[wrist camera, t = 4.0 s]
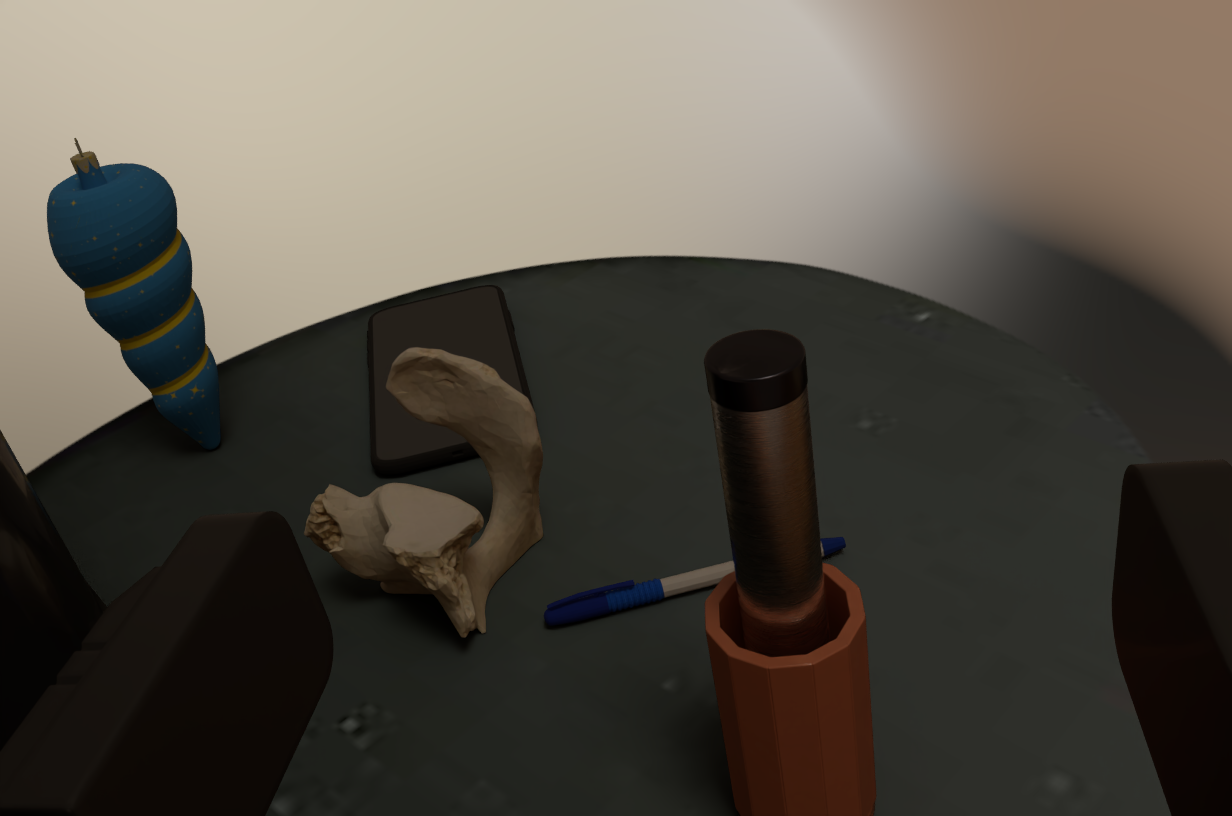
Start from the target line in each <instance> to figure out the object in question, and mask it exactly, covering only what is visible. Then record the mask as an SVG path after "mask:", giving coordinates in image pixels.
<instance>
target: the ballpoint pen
mask: <svg viewBox="0 0 1232 816" xmlns="http://www.w3.org/2000/svg"><path fill="white" fill-rule="evenodd" d="M820 541H821V553H822V557H825V556H827V555H829V554H832V553H834V552H836V551H838V550H841V549H843V548H845V547H846V544H845V540H844V538H843V537H836V538H824V539H820ZM733 571H735V569H734V562H733V561H730V562H726V563H722V564H718V565H714V566H710V567H706V568H702V569H698V570H695V571H691V572H687V573H683V574H679V575H675V576H671V577H667V578H663V579H653V581H651V580H649V581H648V582H646V583H645V582H642V584H639V583H637V584H636V585H634V582H633V580H630V581H626V582H622V583H617V584H613V585H609V586H605V587H601V588H596V589H592V590H589V591H585V592H581V593H578V594H575V595H572V596H569V597H567V598H564V599H561V600H558V601H556V602H554V603H551V604H549V605H547V608H548V609H547V610H546V611H545V613H544V619H545V622H546V623H547V624H548V625H549V626H555V625H562V624H568V623H574V622H578V621H582V620H586V619H590V618H594V617H598V616H602V615H606V614H610V612H616V610H619V611H621V610H622V609H627V608H628V607H630V608H633V606H636V607H637V606H639V605H640V604H641V605H644V603H647V604H649V603H650V602H652V601H653V602H656V600H659V601H660V600H662V599H663V598H666V597H669V596H673V595H677V594H681V593H685V592H689V591H693V590H697V589H701V588H705V587H709V586H712V585H716V584H718V583H719V582H720V581H721V579H722V578H723V577H725V575H727V574H729V573H731V572H733ZM617 589H618V590H617ZM611 590H614V591H611ZM606 591H608V592H606ZM605 592H606V593H605ZM590 595H591V596H590ZM586 596H587V597H586ZM582 597H584V598H582ZM579 598H580V599H579Z"/></svg>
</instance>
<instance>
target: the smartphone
mask: <svg viewBox="0 0 1232 816" xmlns="http://www.w3.org/2000/svg"><path fill="white" fill-rule="evenodd" d="M367 338H368V340H367V351H368V353H367V356H368V368H369V391H370V438H371V462H372V465H373V467H374V469H375V470H376V471H377V472H379V473H381V474H385V475H394V474H402V473H406V472H410V471H414V470H418V469H422V468H426V467H430V466H434V465H438V464H442V463H446V462H451V461H455V460H459V459H463V458H467V457H471V456H475V455H479V454H478V453H477V452H476V450H475V449H474V448H473V447H472V445H471V444H470V443H469V442H468V441H467V440H466V439H465V438H464V437H462V436H461V435H459V434H457V433H456V432H454V431H452V430H450V429H449V428H447V427H443V426H438V425H434V424H431V423H428V422H424V421H421V420H418V419H416V418H415V417H413V416H412V415H410V414H409V413H407V412H406V411H405V410H404V409H403V407H402V406H401V405H400V404H399V403H398V402H397V400H396V398H395V397H394V396H393V395H392V394H391V393H390V392H389V391H388V390H387V389H386V383H387V380H388V376H389V373H390V371H391V367H392V364H393V362H394V361H395V359H396V358H397V357H398V356H399V355H400V354H401V353H403V352H404V351H405V350H407V349H408V348H414V347H419V348H426V349H441V350H443V351H446V352H448V353H450V354H453V355H457V356H461V357H466V358H469V359H473V360H476V361H478V362H481V363H484V364H486V365H487V366H489V367H491V368H493V369H494V370H495V371H496V372H497V373H498V375H499V376H500V378H501V379H502V380H503V381H504V382H506V383H507V384H508V385H510V386H511V387H512V388H514V389H515V390H517V391H518V392H520V393H521V394H523V395H524V396H526V397H527V398H528V399H529V401H530V403H531V405H532V408H533V410H534V407H533V403H532V400H531V396H530V392H529V388H528V384H527V380H526V376H525V373H524V369H523V365H522V361H521V357H520V353H519V350H518V346H517V342H516V338H515V334H514V325H513V322H512V318H511V314H510V312H509V310H508V308H507V304H506V300H505V296H504V293H503V291H502V289H501V288H499V287H498V286H495V285H485V286H478V287H474V288H470V289H465V290H461V291H457V292H453V293H448V294H444V295H440V296H436V297H431V298H427V299H423V300H419V301H414V302H410V303H406V304H402V305H397V306H393V307H389V308H386V309H383V310H380V311H378V312H376V313H374V314H373V315H372V316H371V317H370V319H369V322H368V331H367ZM534 412H535V411H534ZM536 422H537V419H536Z"/></svg>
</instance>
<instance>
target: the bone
mask: <svg viewBox="0 0 1232 816" xmlns="http://www.w3.org/2000/svg"><path fill="white" fill-rule="evenodd" d="M386 389H387V390H388V391H389V392H390V393H391V394H392V395H393V396H394V397H395V398H396V400H397V402H398V403H399V404H400V405H401V406H402V407H403V409H404V410H405V411H406V412H407V413H409V414H410V415H412V416H413V417H415V418H416V419H418V420H421V421H424V422H428V423H431V424H434V425H438V426H443V427H447V428H449V429H450V430H452V431H454V432H456V433H457V434H459V435H461V436H462V437H464V438H465V439H466V440H467V441H468V442H469V443H470V444H471V445H472V447H473V448H474V449H475V450H476V452H477V453H478V454H479V456H480V457H481V459H482V460H483V462H484V463H485V466H486V468H487V470H488V473H489V476H490V479H491V483H492V487H493V504H492V510H491V514H490V518H489V521H488V524H487V526H486V528H485V530H484V533H483V534H482V536H481V537H480V539H479V540H478V541H477V542H476V543H475V544H474V545H473V546H472V547H470V548H469V549H468V547H469V545H470V543H471V538H472V536H473V535H474V534H475V533H477V532H479V531H480V530H481V528H482V527H483V524H484V520H483V517H482V515H481V513H480V512H479V511H478V510H477V509H476V508H475V507H473V506H471V505H470V504H468V503H466V502H464V501H462V500H461V499H459V498H457V497H455V496H452V495H449V494H446V493H441V492H437V491H434V490H431V489H428V488H423V487H419V486H415V485H411V484H403V483H390V484H386V485H384V486H381V487H378V488H377V489H376V490H374V491H373V492H372V493H371V494H370V495H368V496H366V497H361V498H359V497H357V496H355V495H353V494H351V493H349V492H347V491H346V490H344V489H342V488H339V487H336V486H334V485H329V487H328V488H327V489H326V490H325V493H324V494H319V495H318V496H317V497H316V499H315V500H314V502H313V503H312V505H311V509H310V515H309V517H308V519H307V522H306V528H305V532H304V534H305V535H306V536H307V537H310V538H311V540H312V541H313V542H314V543H315V544H316V545H317V546H319V547H320V548H322V549H323V550H325V551H327V552H329V553H330V554H331V555H332V557H333V558H334V559H335V560H336V561H337V563H338V564H339V565H340V566H341V567H343V568H344V569H346V570H348V571H349V572H352V573H354V574H356V575H358V576H359V577H361V578H363V579H372V580H376V581H381V584H380V586H381V588H382V589H383V590H384V591H385V592H387V593H392V594H433V595H434V596H435V597H436V598H437V599H438V601H439V602H440V604H441V605H442V607H443V608H444V610H445V612H446V613H447V615H448V616H449V618H450V620H451V621H452V623H453V624H454V626H455V628H456V629H457V631H458V632H459V634H460V636H461V637H466V636H467V635H468V633H469V631H474V629H476V628H478V629H479V631H480V632H481V633H485V632H486V619H485V605H486V600H487V597H488V594H489V591H490V590H491V588H492V587H493V585H494V584H495V582H496V581H497V580H498V579H499V578H500V577H501V576H502V575H503V574H504V573H505V572H506V571H507V570H508V569H509V568H510V567H511V566H512V565H513V564H514V563H515V562H516V561H517V560H518V559H519V558H520V557H521V556H522V555H523V554H524V553H525V552H526V551H527V550H528V549H529V548H530V547H531V546H532V545H533V544H535V543H536V542H538V541H539V540H540V539H541V538H542V537H543V529H542V521H541V515H540V513H539V501H540V499H539V491H538V488H539V476H540V472H541V468H542V462H543V452H542V445H541V440H540V436H539V432H538V428H537V422H536V415H535V412H534V410H533V408H532V405H531V403H530V401H529V399H528V398H527V397H526V396H524V395H523V394H521V393H520V392H518V391H517V390H515V389H514V388H512V387H511V386H510V385H508V384H507V383H506V382H504V381H503V380H502V379H501V378H500V376H499V375H498V373H497V372H496V371H495V370H494V369H493V368H491V367H489V366H487V365H486V364H484V363H481V362H478V361H476V360H473V359H469V358H466V357H461V356H457V355H453V354H450V353H448V352H446V351H443V350H441V349H426V348H419V347H414V348H408V349H407V350H405V351H404V352H403V353H401V354H400V355H399V356H398V357H397V358H396V359H395V361H394V362H393V364H392V367H391V371H390V373H389V376H388V380H387V383H386ZM467 549H468V550H467Z"/></svg>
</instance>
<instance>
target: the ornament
mask: <svg viewBox="0 0 1232 816" xmlns="http://www.w3.org/2000/svg"><path fill="white" fill-rule="evenodd" d="M75 142H76V143H75V144H76V146H77V149H78V151H79V153H80V154H77V155H75V156H73V157H72V158H70V160H71V162H72V165H73V167H74V169H75V171H76V173H77V174H75V175H73V176H71V177H69V178H67V179H66V180H64V181H62V182H61V183H60V184H58V185H57V186H56V187H55V188H53V190H52V191H51V193H50V196H49V199H48V203H47V223H48V233H49V239H50V244H51V247H52V250H53V254H54V256H55V258H56V260H57V262H58V263H59V266H60V267H61V268H62V269H63V271H64V272H65V273H66V274H67V276H68V277H69V278H70V279H72V281H73V282H75V283H76V284H77V285H78V286H79V287H80V288H81V289H82V290H83V291H85V303H86V307H87V310H88V311H89V313H90V315H91V316H92V317H93V319H94V320H95V321H96V322H97V323H98V324H99V325H100V326H101V327H102V328H103V329H104V330H105V331H106V332H107V333H109V334H110V335H111V336H112V337H113V338H115V340H117V341H118V342H119V343H120V347H121V353H122V356H123V359H124V361H125V363H126V364H127V366H128V367H129V369H130V370H131V371H132V373H134V375H135V376H136V377H137V378H138V379H139V380H140V381H141V382H142V383H143V384H144V385H145V386H146V387H147V388H148V389H149V390H150V392H151V393H152V396H153V400H154V403H155V405H156V407H157V409H158V411H159V412H160V413H161V414H162V415H163V416H164V417H165V418H166V419H167V420H168V421H170V422H171V423H172V424H174V425H175V426H177V427H178V428H179V429H181V430H182V431H184V432H185V433H186V434H188V435H189V436H190V437H192V438H193V439H194V440H195V441H197V442H198V443H199V444H200V445H201V446H202V447H203V448H205V449H208V450H212V449H215V448H216V447H217V446H218V445H219V443H220V439H221V435H220V409H219V381H218V371H217V366H216V363H215V360H214V357H213V355H212V353H211V351H210V349H209V347H208V346H207V345H206V343H205V322H204V314H203V310H202V306H201V303H200V300H199V299H198V297H197V295H196V293H195V292H194V290H193V289H192V288H191V286H192V260H191V254H190V249H189V246H188V244H187V242H186V240H185V238H184V237H183V235H182V234H181V232H180V231H179V230H178V229H177V207H176V199H175V196H174V193H173V190H172V188H171V187H170V185H169V184H168V182H167V181H166V180H165V178H164V177H162V176H161V175H160V174H159V173H157V172H156V171H154V170H152V169H150V168H148V167H146V166H142V165H138V164H122V163H121V164H113V165H106V166H102V167H100V166H99V162H98V160H97V158H96V155H95V154H94V152H90V151H89V152H85V153H82V151H81V148H80V146H79V144H78V141H77V139H76V138H75Z"/></svg>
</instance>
